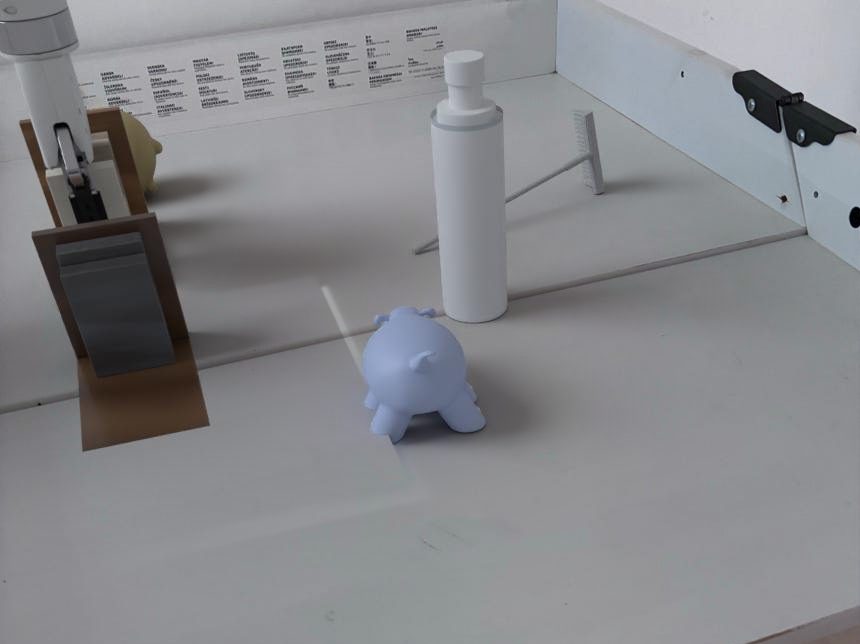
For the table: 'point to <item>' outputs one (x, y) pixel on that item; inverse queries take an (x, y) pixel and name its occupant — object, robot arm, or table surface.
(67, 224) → the white book
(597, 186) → the grey toy rake
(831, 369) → the table surface
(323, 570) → the table surface
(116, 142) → the wooden bookshelf
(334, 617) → the table surface
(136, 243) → the stand
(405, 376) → the hippopotamus toy
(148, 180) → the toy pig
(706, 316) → the table surface
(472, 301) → the spray bottle
